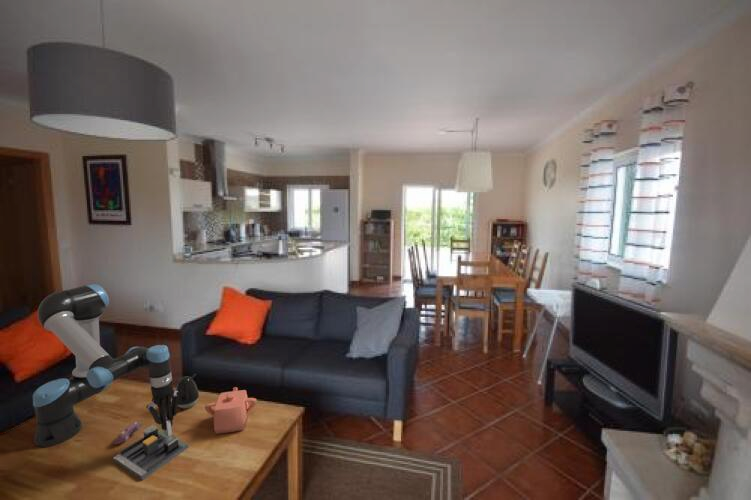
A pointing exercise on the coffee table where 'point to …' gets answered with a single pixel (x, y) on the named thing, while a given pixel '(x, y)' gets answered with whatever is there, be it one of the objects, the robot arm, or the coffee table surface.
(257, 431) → the coffee table surface
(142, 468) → the panel
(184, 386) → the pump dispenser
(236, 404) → the teapot
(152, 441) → the breaker
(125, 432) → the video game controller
